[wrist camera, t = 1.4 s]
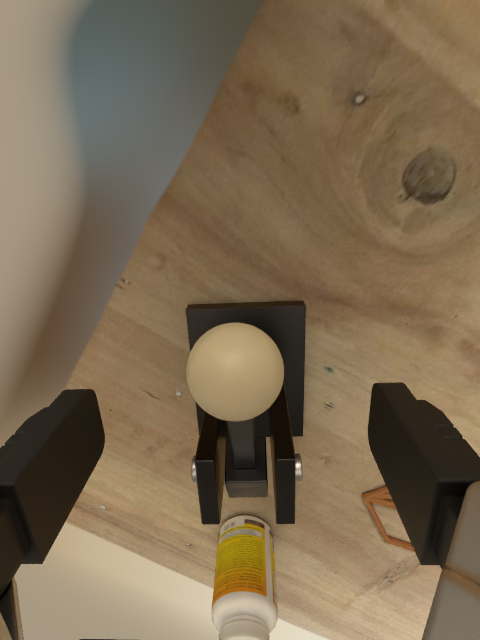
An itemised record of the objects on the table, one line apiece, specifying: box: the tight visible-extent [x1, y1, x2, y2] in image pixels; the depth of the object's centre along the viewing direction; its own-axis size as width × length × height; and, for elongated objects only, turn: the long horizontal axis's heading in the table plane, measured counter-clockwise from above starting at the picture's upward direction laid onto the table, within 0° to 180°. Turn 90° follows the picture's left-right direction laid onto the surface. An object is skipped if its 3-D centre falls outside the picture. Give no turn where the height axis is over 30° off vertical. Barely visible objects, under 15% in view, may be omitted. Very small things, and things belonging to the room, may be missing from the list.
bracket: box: [186, 301, 306, 524], centre depth 25 cm, size 12×9×13 cm
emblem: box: [362, 486, 415, 552], centre depth 35 cm, size 12×10×1 cm
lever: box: [186, 323, 284, 498], centre depth 16 cm, size 13×3×3 cm, turn 3°
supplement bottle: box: [212, 515, 278, 640], centre depth 33 cm, size 6×6×10 cm
